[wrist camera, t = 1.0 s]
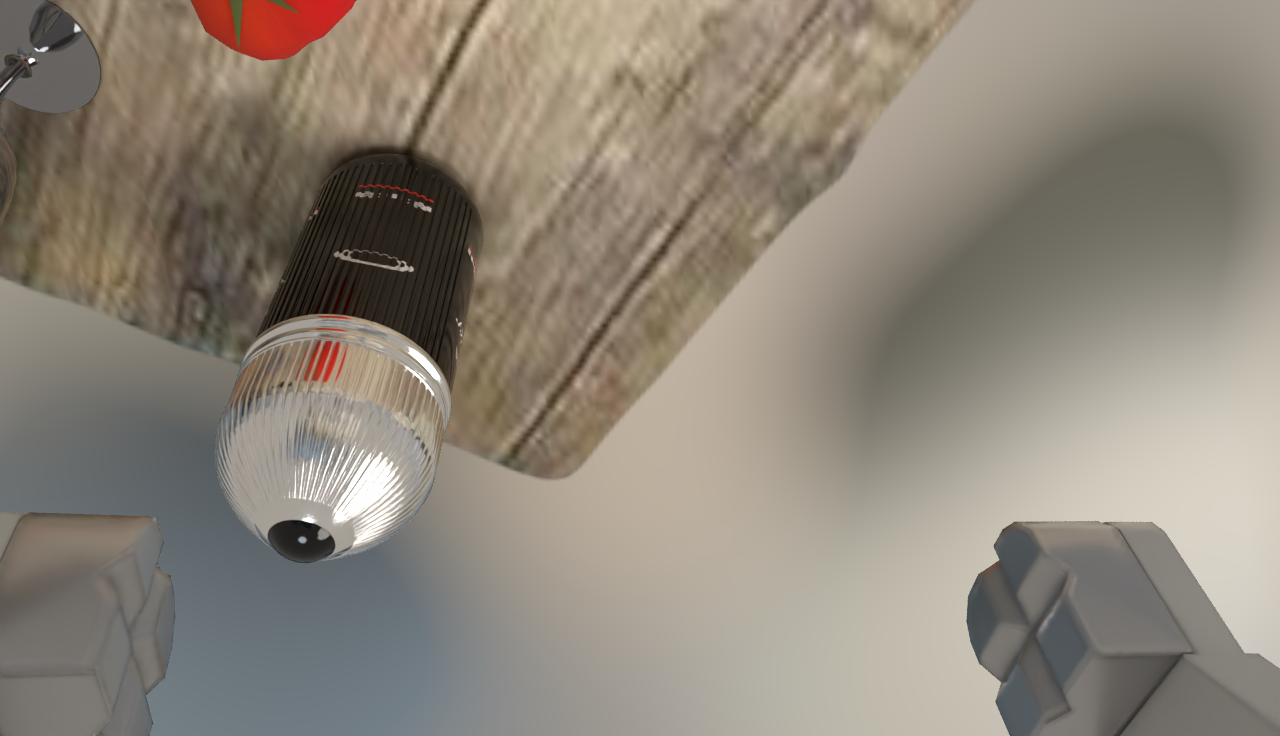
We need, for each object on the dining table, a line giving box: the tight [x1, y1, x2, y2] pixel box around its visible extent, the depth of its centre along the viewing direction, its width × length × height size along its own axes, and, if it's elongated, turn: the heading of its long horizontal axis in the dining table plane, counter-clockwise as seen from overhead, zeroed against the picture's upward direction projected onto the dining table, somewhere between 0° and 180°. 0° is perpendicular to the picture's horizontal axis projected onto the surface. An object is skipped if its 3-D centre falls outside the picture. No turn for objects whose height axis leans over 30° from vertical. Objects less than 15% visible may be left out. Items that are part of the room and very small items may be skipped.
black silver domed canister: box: [214, 153, 483, 563], centre depth 54 cm, size 10×10×25 cm
